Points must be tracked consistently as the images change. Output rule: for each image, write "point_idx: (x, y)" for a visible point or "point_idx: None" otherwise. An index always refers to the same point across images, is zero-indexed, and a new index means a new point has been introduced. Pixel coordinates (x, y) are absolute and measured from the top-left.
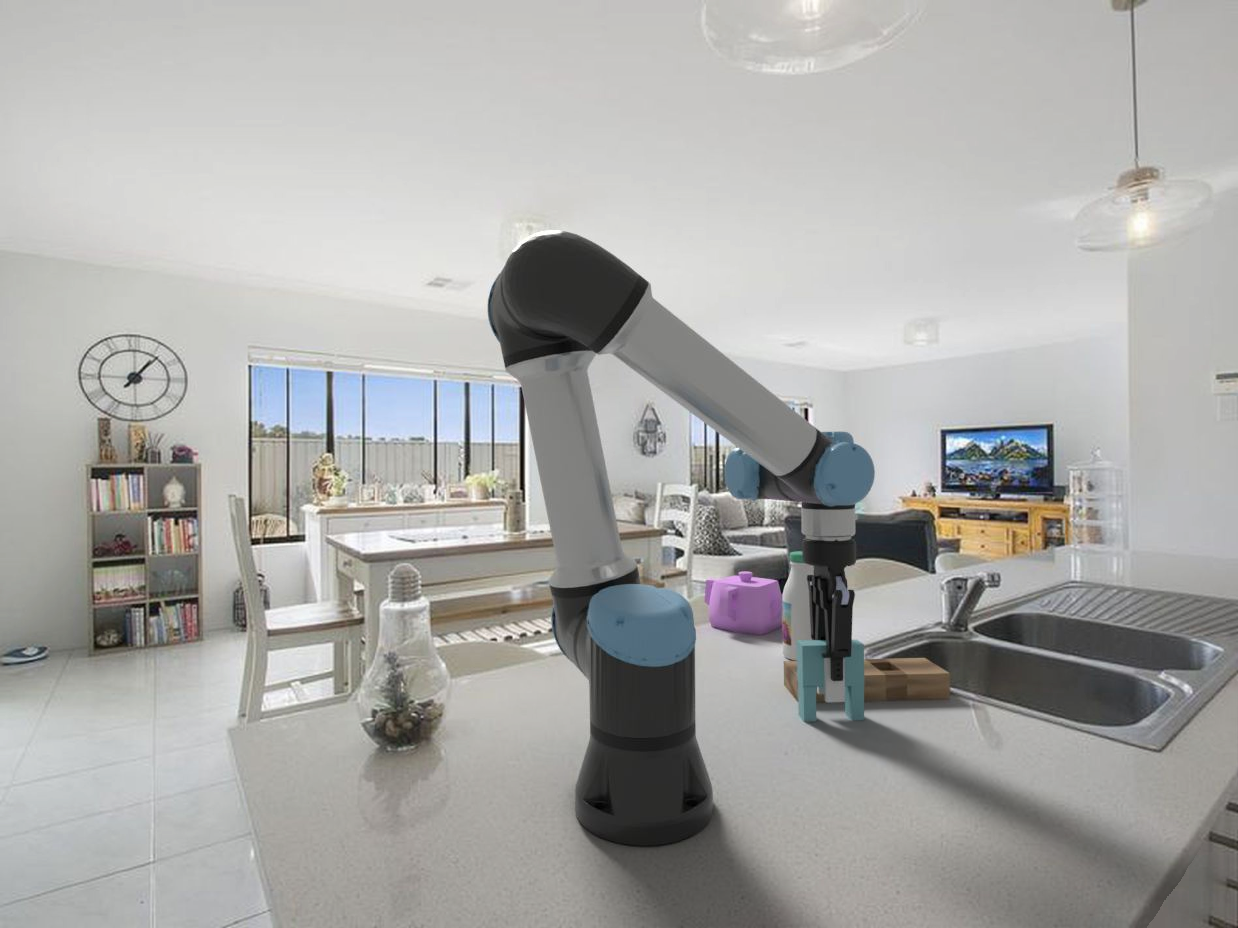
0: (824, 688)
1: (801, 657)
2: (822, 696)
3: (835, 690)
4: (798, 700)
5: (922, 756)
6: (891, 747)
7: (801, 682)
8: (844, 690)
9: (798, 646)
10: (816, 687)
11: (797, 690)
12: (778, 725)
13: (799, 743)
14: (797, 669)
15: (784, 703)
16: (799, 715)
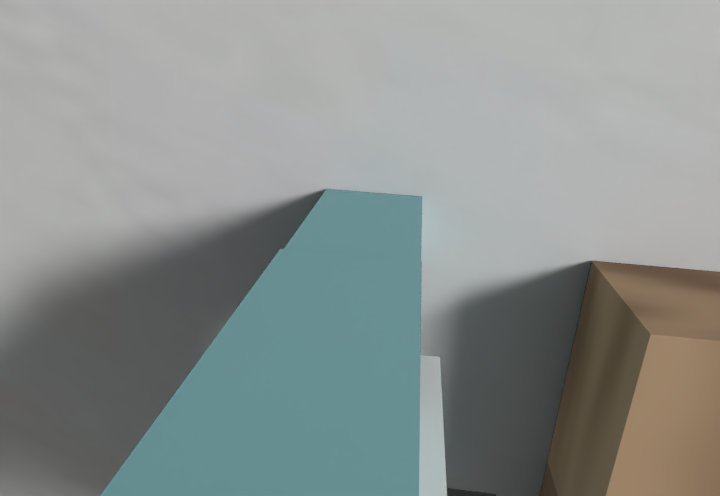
0: None
1: (229, 382)
2: (572, 397)
3: None
4: (419, 219)
5: (4, 468)
6: (64, 415)
7: (310, 261)
8: None
9: (338, 479)
10: (595, 401)
11: (630, 288)
12: (289, 28)
13: (69, 65)
14: (412, 303)
15: (601, 178)
16: (404, 195)
